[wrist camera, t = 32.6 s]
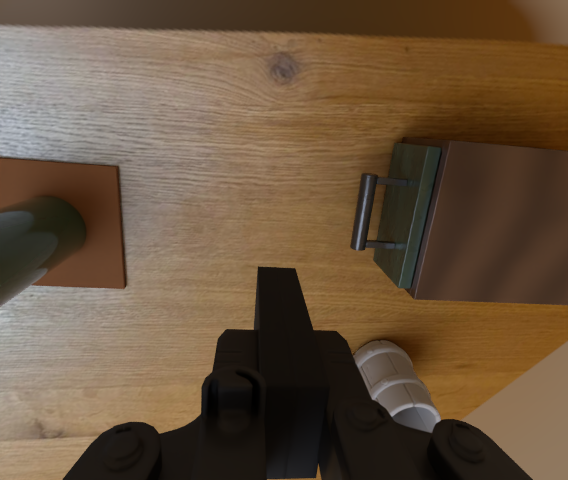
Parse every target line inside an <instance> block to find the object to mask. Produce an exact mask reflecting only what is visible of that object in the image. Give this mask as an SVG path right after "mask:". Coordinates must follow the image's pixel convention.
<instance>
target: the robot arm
mask: <svg viewBox="0 0 568 480" xmlns="http://www.w3.org/2000/svg"><path fill="white" fill-rule="evenodd" d="M318 463H319V468H320V473H321V479H322V480H533V479H532V478H531V477H530V476H529V475H527V474H526V473H525V472H524V471H523V470H522V469H521V468H520V467H519V466H518V465H517V464H516V463H515V462H514V461H513V460H512V459H511V458H510V457H509V456H508V455H507V454H506V453H505V452H504V451H503V450H502V449H501V448H500V447H499V446H498V445H497V444H496V443H495V442H494V441H493V440H492V439H491V438H489V437H488V436H487V435H486V434H484V433H483V432H482V431H481V430H479V429H478V428H476V427H474V426H472V425H470V424H468V423H466V422H463V421H459V420H455V419H444V420H441V421H439V422H438V423H436V424H435V426H434V429H433V431H432V433H430V432H426V431H422V430H418V429H415V428H411V427H407V426H405V425H402V424H399V423H397V422H395V421H394V420H393V418H392V416H391V415H390V414H389V412H388V411H387V409H386V408H384V407H383V406H382V405H381V404H379V403H378V402H377V401H375V400H372V398H371V396H370V394H369V391H368V389H367V387H366V384H365V382H364V380H363V377H362V375H361V373H360V371H359V368H358V366H357V364H356V363H355V359H354V357H353V355H352V354H351V350H350V348H349V345H348V343H347V341H346V340H345V339H344V338H343V337H342V336H341V335H340V334H339V333H338V332H337V331H321V330H313V327H312V324H311V320H310V317H309V314H308V310H307V307H306V303H305V300H304V297H303V293H302V290H301V286H300V283H299V280H298V276H297V273H296V270H295V268H276V267H258V274H257V289H256V304H255V319H254V330H238V329H226V330H225V331H224V332H223V334H222V335H221V336H220V337H219V338H218V342H217V348H216V353H215V359H214V365H213V371H212V373H211V374H210V375H208V376H207V377H206V378H205V381H204V383H203V385H202V401H201V414H200V415H199V416H198V417H197V418H196V419H195V420H194V421H192V422H191V423H189V424H187V425H186V426H183V427H181V428H178V429H175V430H172V431H168V432H165V433H161V434H159V433H158V432H157V430H156V429H155V428H154V427H153V426H151V425H148V424H146V423H144V422H128V423H124V424H120V425H116V426H114V427H113V428H111V429H109V430H107V431H105V432H103V433H102V434H101V435H100V436H99V437H98V438H97V439H96V440H95V441H93V442H92V443H91V444H90V446H89V447H88V448H87V449H86V451H85V452H84V453H83V454H82V456H81V457H80V458H79V459H78V461H77V462H76V463H75V464H74V466H73V467H72V468H71V470H70V471H69V472H68V473H67V475H66V476H65V477H64V478H63V480H267V479H293V478H316V474H317V468H318Z"/></svg>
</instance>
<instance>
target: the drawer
mask: <svg viewBox="0 0 568 480" xmlns="http://www.w3.org/2000/svg"><path fill="white" fill-rule="evenodd" d="M441 149H442V148H441V147H433V146H423V145H414V144H404V143H394V148H393V154H392V159H391V165H390V170H389V176H388V177H378V175H376V174H371V173H362V175H361V181H360V187H359V194H358V200H357V207H356V213H355V220H354V226H353V232H352V239H351V245H350V247H351V248H352V249H354V250H365V247H366V248H375V254H374V259H373V260H374V262H375V263H376V264H377V265H378V266H379V267H380V268H381V269H382V270H383V272H384V273H385V274H386V275H387V276H388V277H389V278H390V279H391V280H392V282H393V283H394V284H395V285H396V286H397V287H398V288H409V289H410V288H411V283H412V279H413V274H414V270H415V271H416V266H417V262H418V257H419V253H420V248H421V244H422V240H423V235H424V231H425V226H426V222H427V217H428V213H429V208H430V204H431V199H432V195H433V190H434V186H435V182H436V177H437V173H438V168H439V164H440V159H441V155H440V153H441ZM376 184H383V185H387V187H386V193H385V198H384V204H383V209H382V215H381V220H380V226H379V231H378V237H377V240H367V235H368V230H369V224H370V218H371V212H372V206H373V200H374V194H375V188H376Z"/></svg>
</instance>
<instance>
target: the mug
mask: <svg viewBox="0 0 568 480" xmlns="http://www.w3.org/2000/svg"><path fill="white" fill-rule="evenodd" d="M353 357H354V359H355V363H356V364H357V366H358V368H359V371H360V373H361V375H362V377H363V380H364V382H365V384H366V387H367V389H368V391H369V394H370V396H371V398H372V400H375V401H377V402H378V403H379V404H381V405H382V406H383V407H384V408H386V409H387V411H388V412H389V414H390V415H391V416H392V418H393V420H394V421H395V422H397V423H399V424H402V425H405V426H407V427H411V428H415V429H418V430H422V431H426V432H430V433H432V431H433V429H434V426H435V424H436V423H438V422H439V421H441V418H440V415H439V413H438V411H437V409H436V407H435V406H434V404H433V402H432V401H431V396H430V393H429V391H428V389H427V387H426V386H425V384H424V383H423V382H422V381H421V380H420V379H419V378H418V377H417V375H416V373H415V372H414V370H413V364H412V361H411V359H410V358H409V356H408V354H407V353H406V352H405V351H404V350H403V349H401V348H400V347H398V346H397V345H395V344H394V343H392V342H390V341H386V340H380V341H372V342H369V343H368V344H366V345H364V346H363V347H361V348H360V349H358V350H357V352H356V354H354V356H353Z"/></svg>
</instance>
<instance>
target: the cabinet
mask: <svg viewBox="0 0 568 480" xmlns="http://www.w3.org/2000/svg"><path fill="white" fill-rule="evenodd" d="M402 143H404V144H414V145H423V146H433V147H441V148H442V149H441V153H440V155H441V159H440V164H439V168H438V173H437V177H436V182H435V186H434V190H433V195H432V199H431V204H430V208H429V213H428V217H427V222H426V226H425V231H424V235H423V240H422V244H421V248H420V253H419V257H418V262H417V266H416V271H415V270H414V274H413V279H412V283H411V288H410V289H409V288H404V289H405V290H406V291H407V292H408V293H409V294H410V295H411V296H412V298H413V299H418V300H445V301H471V302H498V303H525V304H552V305H568V151H563V150H552V149H541V148H530V147H520V146H509V145H498V144H487V143H476V142H465V141H454V140H440V139H425V138H409V137H403V140H402Z"/></svg>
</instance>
